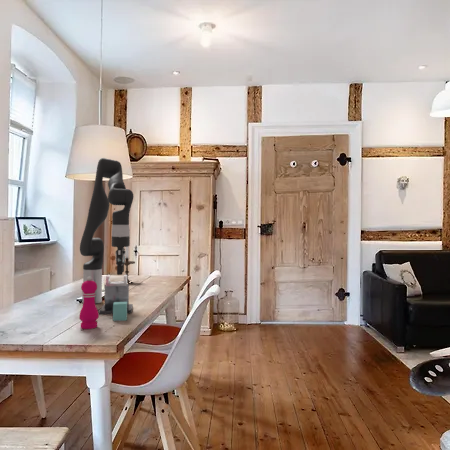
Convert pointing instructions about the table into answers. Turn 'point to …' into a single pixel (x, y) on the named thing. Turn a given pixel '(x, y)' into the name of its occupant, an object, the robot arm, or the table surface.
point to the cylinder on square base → (115, 295)
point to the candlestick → (127, 263)
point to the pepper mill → (89, 305)
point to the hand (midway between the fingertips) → (120, 273)
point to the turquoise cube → (119, 311)
